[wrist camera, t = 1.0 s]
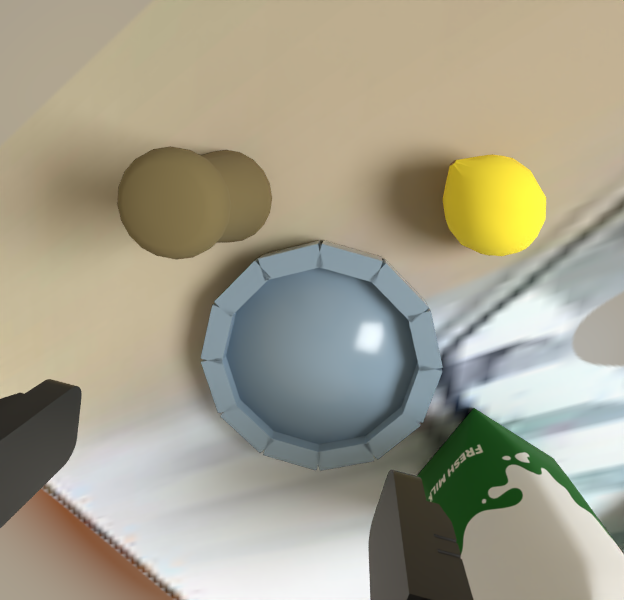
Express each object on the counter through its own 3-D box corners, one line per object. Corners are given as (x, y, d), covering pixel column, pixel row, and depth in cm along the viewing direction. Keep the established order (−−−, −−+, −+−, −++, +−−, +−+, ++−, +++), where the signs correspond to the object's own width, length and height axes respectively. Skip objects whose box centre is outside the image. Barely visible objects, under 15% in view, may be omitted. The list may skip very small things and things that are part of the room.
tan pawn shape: (173, 225, 32) (83, 247, 21) (196, 136, 30) (110, 113, 19) (256, 254, 32) (207, 292, 21) (283, 168, 30) (244, 161, 19)
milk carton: (470, 391, 33) (636, 692, 14) (573, 456, 33) (873, 836, 14) (399, 478, 35) (453, 842, 16) (496, 537, 36) (663, 960, 16)
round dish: (238, 215, 31) (231, 218, 29) (467, 281, 31) (474, 287, 29) (192, 419, 35) (184, 431, 34) (393, 478, 35) (395, 493, 33)
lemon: (542, 208, 30) (589, 224, 25) (475, 265, 31) (507, 291, 26) (476, 126, 28) (512, 125, 23) (408, 189, 29) (428, 202, 24)
